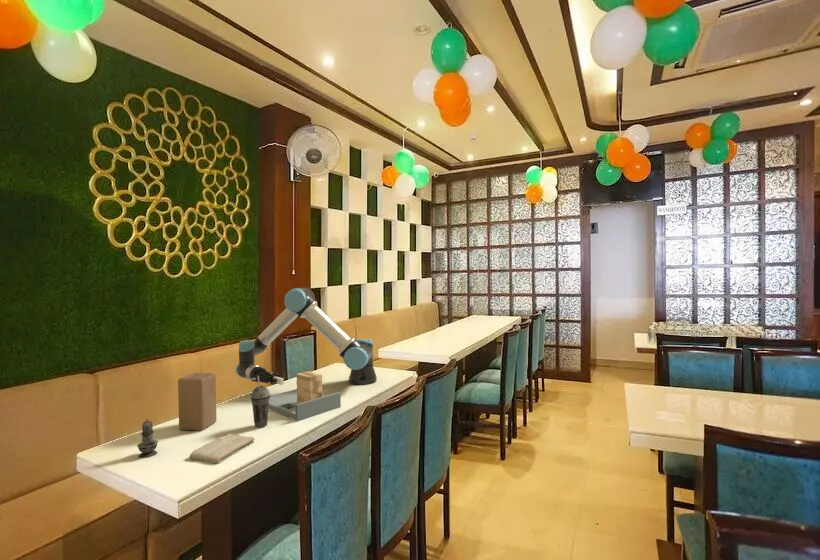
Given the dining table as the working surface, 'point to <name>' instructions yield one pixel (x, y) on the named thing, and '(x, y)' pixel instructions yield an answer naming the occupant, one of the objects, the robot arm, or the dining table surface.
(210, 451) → the washcloth
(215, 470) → the dining table surface
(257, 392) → the beverage cup
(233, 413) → the dining table surface
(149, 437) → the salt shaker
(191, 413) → the block
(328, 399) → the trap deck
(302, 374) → the oak block
